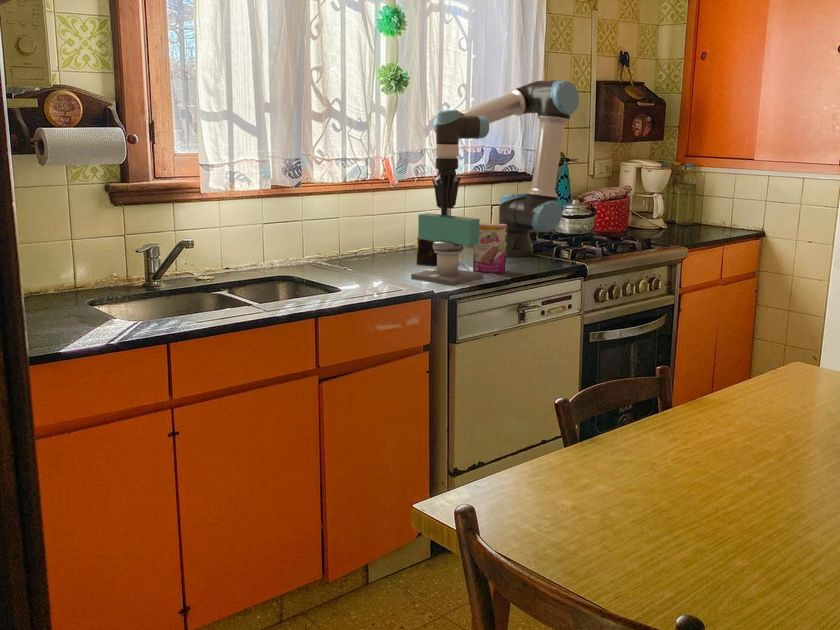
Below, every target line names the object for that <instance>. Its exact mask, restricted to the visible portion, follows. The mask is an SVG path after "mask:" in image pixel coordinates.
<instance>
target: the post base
mask: <svg viewBox="0 0 840 630" xmlns="http://www.w3.org/2000/svg"><path fill="white" fill-rule="evenodd" d="M434 252H435V253H437V266H436V267H435V268H426V269H425V270H424V271H419V272H414V273H411V275H410V277H411V278H410V279H412V280H418V281H425V282H430V283H436V284H440V285H446V286H451V287H453V286H456V285H457V286H458V285H460V284H461V285H462V284H464V283H468V282H469V283H470V282H472V281H476V280H480V279H483V278H484V272H473V270H466V269H459V254H462V252H463V251H462V250H460V251H438V250H434Z"/></svg>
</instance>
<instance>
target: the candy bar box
mask: <svg viewBox="0 0 840 630" xmlns="http://www.w3.org/2000/svg"><path fill="white" fill-rule="evenodd" d="M506 245H507V224H499V223H486V222H485V223H481V222H479V244H475V245H473V260H472V261H473V262H472V263H473V264H472V271H473V272H479V273H483V274H484V273H487V274H489V273H490V274H494V273H495V274H506V267H507V266H506V264H507V263H506V262H507V256H506Z"/></svg>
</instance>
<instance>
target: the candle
mask: <svg viewBox="0 0 840 630" xmlns="http://www.w3.org/2000/svg"><path fill="white" fill-rule="evenodd" d="M416 239H417V253H416V265H422V266H432V267H437V253H435V252H434V249H433V241H432V240H424V239H418V236H417V238H416Z"/></svg>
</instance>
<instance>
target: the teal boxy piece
mask: <svg viewBox="0 0 840 630" xmlns="http://www.w3.org/2000/svg"><path fill="white" fill-rule="evenodd" d="M480 220H481V219H480V218H476V217H475V218H474V217H465V216H456V215H451V216H449V215H441V213H440V214H436V213H429V212H427V213H418V222H417V223H418V233H417V235H418V236H417V237H418V239H424V240H432V241H433V249H434V250H438V251H460V250H463V251H464V246H474V245H475V244H479V223H480Z"/></svg>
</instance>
